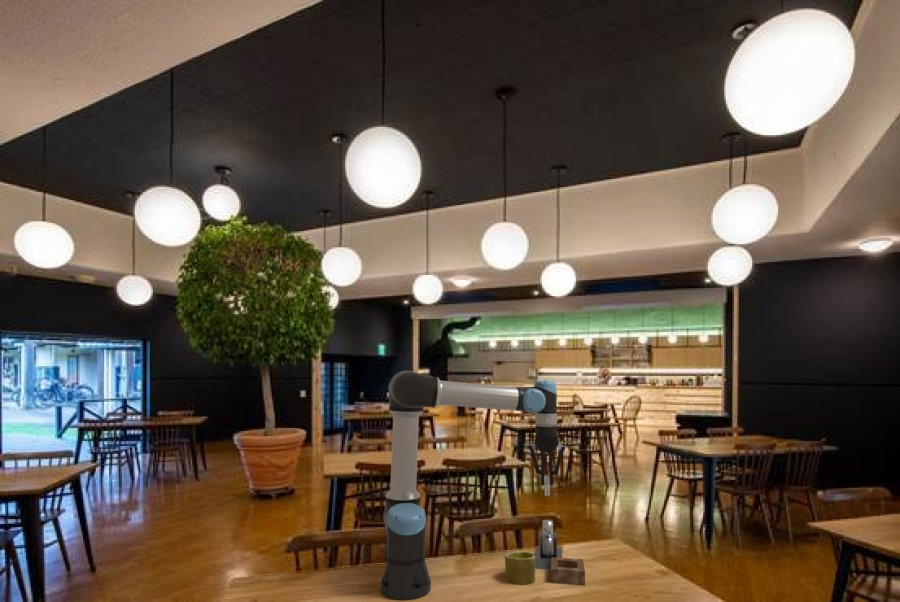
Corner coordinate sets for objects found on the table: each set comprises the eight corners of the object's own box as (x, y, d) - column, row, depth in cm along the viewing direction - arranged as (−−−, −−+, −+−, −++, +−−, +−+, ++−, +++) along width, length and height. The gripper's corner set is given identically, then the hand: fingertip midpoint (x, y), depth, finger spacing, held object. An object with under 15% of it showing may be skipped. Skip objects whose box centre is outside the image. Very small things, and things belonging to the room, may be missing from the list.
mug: (540, 585, 159) (530, 549, 163) (507, 593, 161) (498, 557, 164) (544, 577, 170) (534, 544, 174) (513, 585, 172) (504, 552, 175)
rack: (551, 586, 163) (551, 568, 163) (551, 573, 172) (551, 557, 173) (585, 588, 161) (584, 571, 161) (583, 575, 171) (583, 559, 171)
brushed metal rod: (543, 566, 175) (542, 522, 177) (543, 563, 179) (542, 519, 180) (553, 567, 175) (552, 523, 176) (553, 563, 178) (552, 520, 180)
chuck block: (534, 571, 174) (534, 542, 175) (535, 557, 186) (535, 530, 187) (562, 573, 172) (562, 544, 173) (562, 559, 184) (561, 532, 185)
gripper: (526, 426, 185) (527, 496, 182) (565, 427, 183) (567, 498, 180) (527, 423, 192) (528, 491, 190) (565, 424, 190) (566, 493, 187)
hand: (547, 494), depth 185 cm, fingers closed
